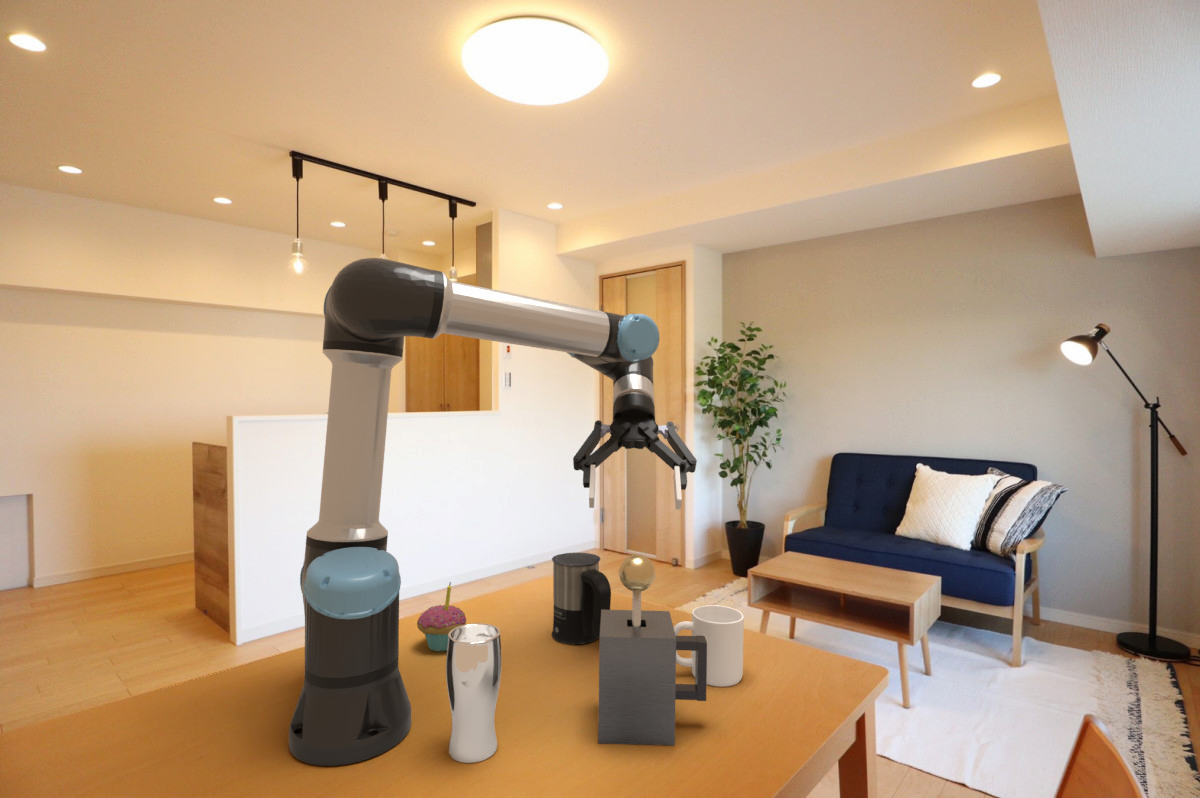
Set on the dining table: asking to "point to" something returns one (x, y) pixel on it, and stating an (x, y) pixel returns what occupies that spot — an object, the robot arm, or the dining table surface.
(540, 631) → the dining table surface
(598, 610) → the milk frother
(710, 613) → the cup
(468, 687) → the beer glass
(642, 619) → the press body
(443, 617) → the cupcake
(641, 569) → the plunger
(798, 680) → the dining table surface
